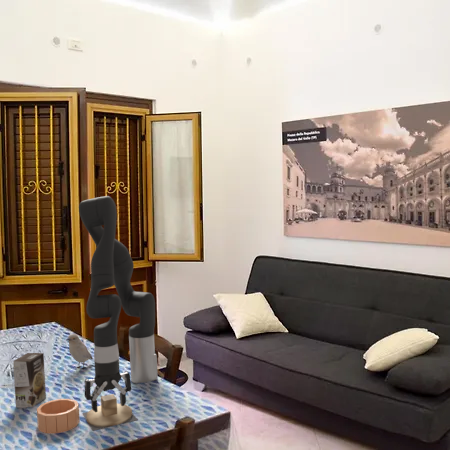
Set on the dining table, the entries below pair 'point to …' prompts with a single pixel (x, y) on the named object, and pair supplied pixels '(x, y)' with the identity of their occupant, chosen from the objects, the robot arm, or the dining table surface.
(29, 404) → the coffee box
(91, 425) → the rubber mat
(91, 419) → the oak lid
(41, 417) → the terracotta bowl
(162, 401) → the dining table surface
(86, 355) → the bird
